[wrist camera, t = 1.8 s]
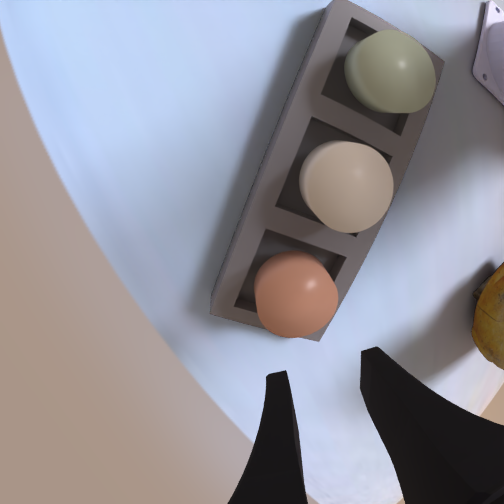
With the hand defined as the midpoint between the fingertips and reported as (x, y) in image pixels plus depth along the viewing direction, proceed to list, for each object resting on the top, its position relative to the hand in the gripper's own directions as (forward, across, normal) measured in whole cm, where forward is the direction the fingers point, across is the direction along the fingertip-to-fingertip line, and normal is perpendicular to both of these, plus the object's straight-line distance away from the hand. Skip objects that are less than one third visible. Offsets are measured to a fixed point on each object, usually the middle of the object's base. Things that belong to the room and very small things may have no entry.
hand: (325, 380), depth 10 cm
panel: (+9, -3, -5) cm, 11 cm away
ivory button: (+7, -3, -5) cm, 9 cm away
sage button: (+7, -6, -10) cm, 14 cm away
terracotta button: (+7, 0, 0) cm, 7 cm away
